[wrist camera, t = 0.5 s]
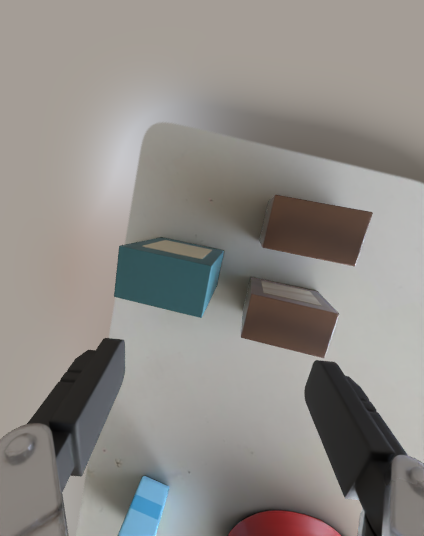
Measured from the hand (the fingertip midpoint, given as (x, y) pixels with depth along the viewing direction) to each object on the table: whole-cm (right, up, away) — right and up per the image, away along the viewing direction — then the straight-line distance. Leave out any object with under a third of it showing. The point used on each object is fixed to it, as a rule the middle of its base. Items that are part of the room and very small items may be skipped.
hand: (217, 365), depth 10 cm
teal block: (-3, +5, +20) cm, 21 cm away
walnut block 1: (+10, +9, +17) cm, 21 cm away
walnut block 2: (+8, 0, +19) cm, 21 cm away
